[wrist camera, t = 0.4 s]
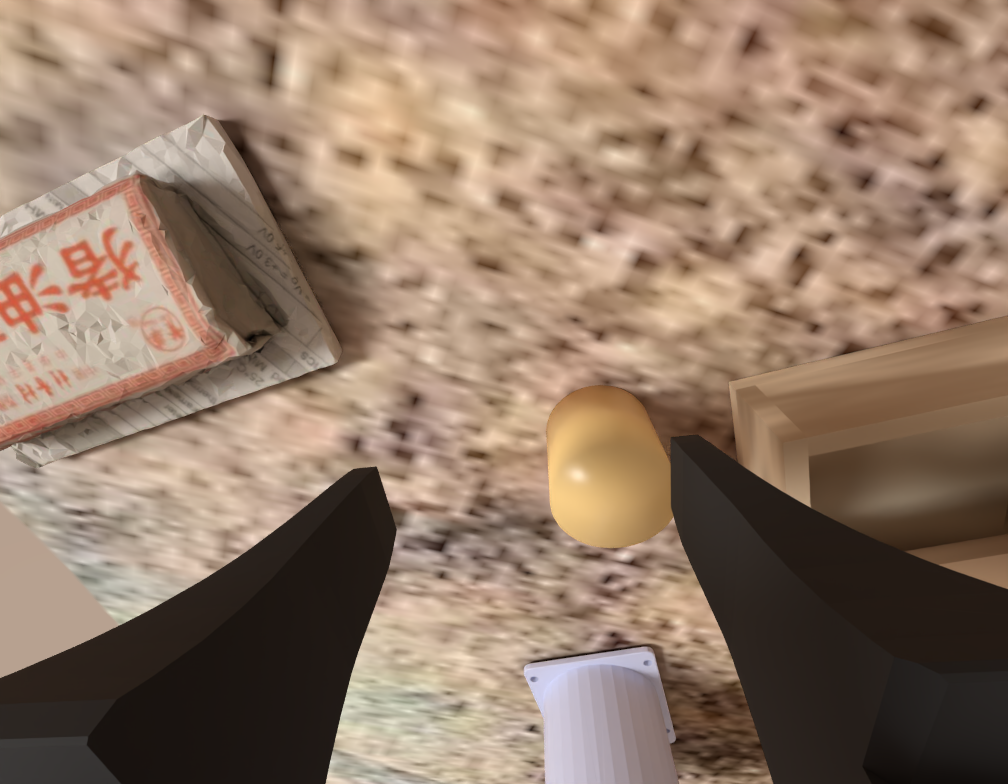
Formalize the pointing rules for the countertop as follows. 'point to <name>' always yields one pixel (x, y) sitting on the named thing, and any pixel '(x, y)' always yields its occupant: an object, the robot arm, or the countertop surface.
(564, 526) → the cream bullet-shaped knob
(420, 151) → the countertop surface
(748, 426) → the wooden box
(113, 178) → the packaged product
